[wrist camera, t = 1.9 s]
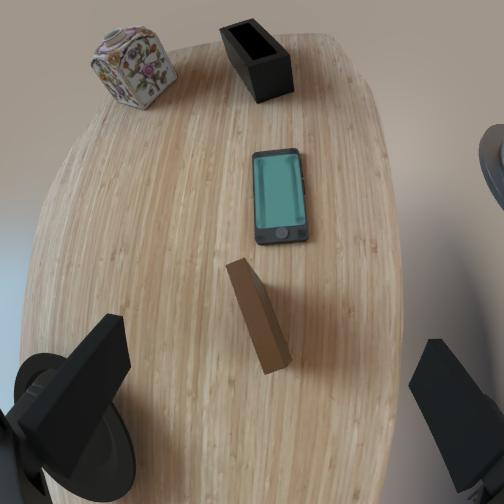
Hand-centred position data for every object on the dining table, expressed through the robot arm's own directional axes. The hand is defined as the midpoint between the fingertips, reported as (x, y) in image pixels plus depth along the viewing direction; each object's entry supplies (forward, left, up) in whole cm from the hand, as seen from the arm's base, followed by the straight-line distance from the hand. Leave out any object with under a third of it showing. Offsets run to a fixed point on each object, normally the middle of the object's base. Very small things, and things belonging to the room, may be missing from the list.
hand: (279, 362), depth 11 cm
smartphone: (+22, -5, -26) cm, 34 cm away
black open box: (+51, -11, -26) cm, 58 cm away
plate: (-5, +37, -26) cm, 46 cm away
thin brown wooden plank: (+4, +2, -26) cm, 27 cm away
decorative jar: (+61, +13, -26) cm, 67 cm away
